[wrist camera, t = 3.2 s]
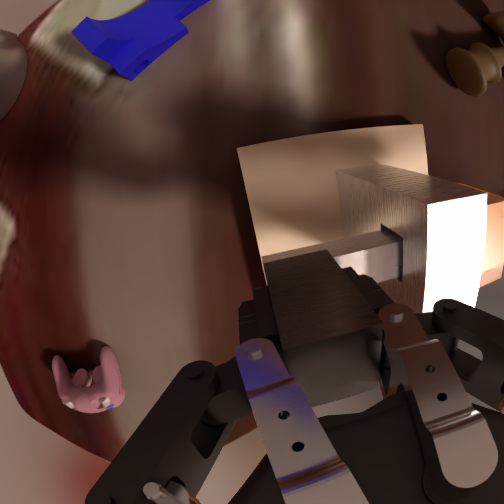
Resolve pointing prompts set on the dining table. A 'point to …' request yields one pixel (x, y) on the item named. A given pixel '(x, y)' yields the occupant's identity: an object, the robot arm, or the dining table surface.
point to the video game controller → (79, 389)
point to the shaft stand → (370, 206)
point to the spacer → (493, 239)
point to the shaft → (331, 312)
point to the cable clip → (136, 34)
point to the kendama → (478, 61)
